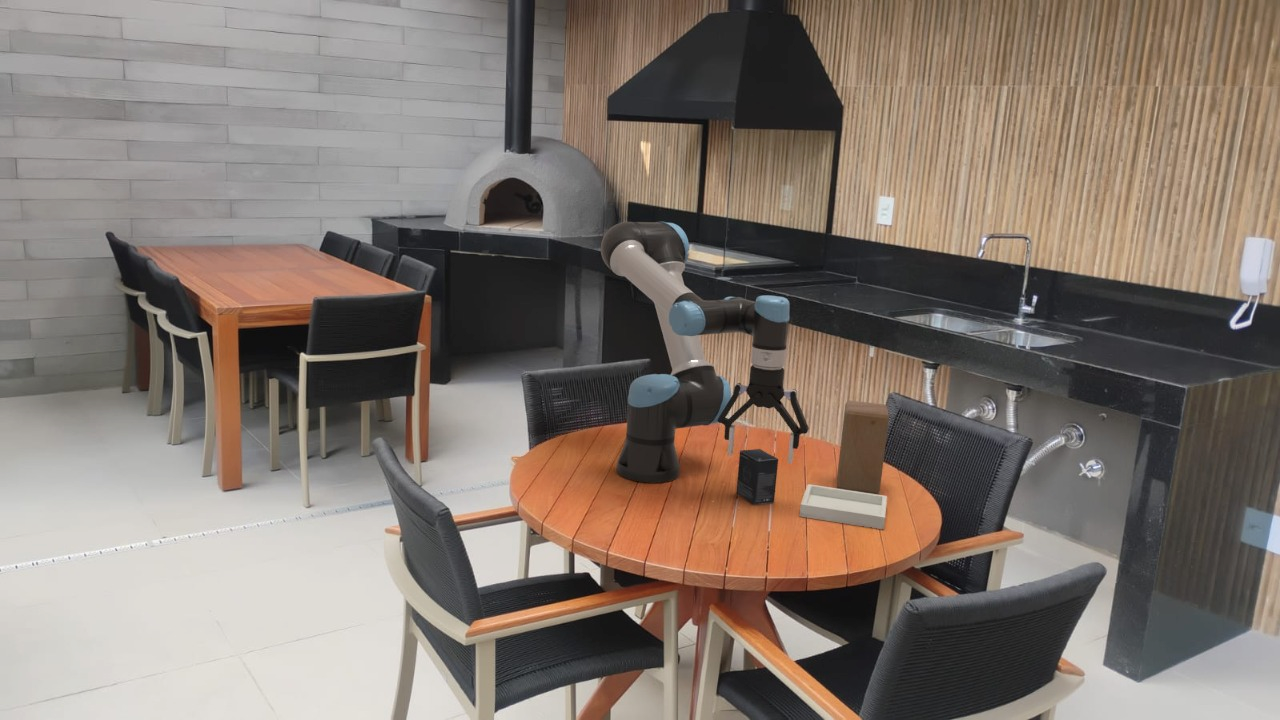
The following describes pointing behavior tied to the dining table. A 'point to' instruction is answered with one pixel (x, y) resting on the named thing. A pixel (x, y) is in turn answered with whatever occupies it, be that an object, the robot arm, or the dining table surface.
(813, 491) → the tray
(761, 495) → the box
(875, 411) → the wooden block
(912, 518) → the dining table surface
